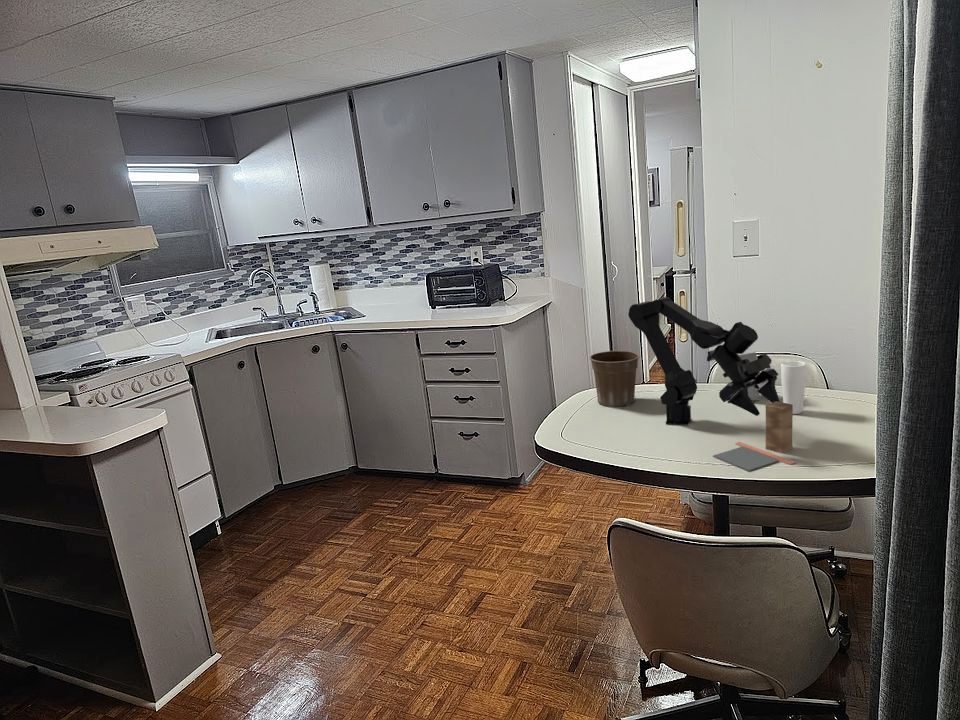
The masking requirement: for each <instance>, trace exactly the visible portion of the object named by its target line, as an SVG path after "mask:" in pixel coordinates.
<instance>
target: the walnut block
mask: <svg viewBox="0 0 960 720" xmlns="http://www.w3.org/2000/svg"><path fill="white" fill-rule="evenodd" d="M793 415H794V414H793V405H792V404H787V403H783V401H780V402H778V401H775V402H773V403H771V402H769V403H768V404H766V405H765V450H767V451H772V452H776V453H779V454H783V453H785V452H788V451H790V450H792V449H793V420H794V419H793Z"/></svg>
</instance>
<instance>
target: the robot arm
mask: <svg viewBox="0 0 960 720" xmlns="http://www.w3.org/2000/svg"><path fill="white" fill-rule="evenodd" d="M660 314H661V315H663V316H664V318H667V319H668V320H669V321H671V322H672V323H674V324H675V325H677V326H678V327H680V328H681V329H683V330H685V331H686V333H688V334H689V336H690V339H691V340H692V341H693V342H694V343H695V344H696V345H697V346H698V347H700V348H701V349H703V350H706V349H710V348H714V347H715V348H714V349H712V350H709V351H707V357H706V361H707V362H712V361H715V362H716V363H717V365H718V366H719V367H720V368H721V370H722V371H723V372H724V373H723V374H722V376H723V377H724V378H729V380H730V382H728V383H727V384H726V385H725V386H724V387H723V388H722V389H720V391H718V395H719V399H720V400H721V401H722V403H726V402H727V404H732V405H733V406H736V407H738V408H740V409H742V410H744V411H747V412H749V413H750V414H752V415H754V416H756V417H758V416H759V415H760V414H761V413H760V411H759V409H758V407H757V406H756V405H755V404H754V402H753V401H752V400H751V399H750V397H749V396H748V388H750V387H753V386H754V387H755V388H757V389H759V390H758V392H759V395H761V396H763V397H764V398H765V399H766V400H768V402H769V403H773V402H775V401H778V402H781V400H780V397H779V394H778V393H777V388H776V381H777V379H778V376H779V373H778V372H777V370H775V368H771V367H772V366H771V364H772V358H770V356H769V355H768V354H767V353H766V352H765V353H762V354H759V355H757V360H755V361H752V362H750V361H749V360H748V359H744V360H743V359H742V358H741V357H740V356H739V355H738V354H742V353H744V352H745V351H746V350H747V349H750V347H751V346H752V345H754V343H755V342H756V341H758V338H759V335H758V334H757V331H756V330H755V329H754V328H752V327H750V326H749V325H747V324H744V323H743V322H742V321H739V322H735V323H734V324H733V325H732V327H731V329H730V330H728V329H727V330H726V329H724V328H723V327H722V326H721V325H718V324H716V323H714V322H712V321H708V320H703V319H701V318H698V317H697V316H696V315H694V314H692V313H691V312H690V311H688V310H686V309H685V308H683V307H682V306H681V305H679V304H677V303H676V302H674V301H673V300H672V298H671V297H668V296H663V297H659V298H656V299H654V300H652V301H650V300H649V301H648V300H647V301H642V302H639V303H634V304H632V305H631V306H630V307H629V309H628V318H629V320H630V321H631V322H632V324H633V325H634V327H635V328H636V329H637V330H639V331H641V332H642V333H643V334H644V336H645V338H646V341H647V342H648V343H649V345H650V348H651V350H652V351H653V354H654V356H655V358H656V359H657V361H658V363H659V365H660V367H661V369H662V372H663V373H664V386H665V389H666V391H665V392H664V393H662V395H661V396H660V402H661V405H665V411H666V420H665V424H666V425H681V426H688V425H689V424H690V422H691V419H692V408H691V407H692V406H691V405H690V401H693V399H694V397H695V395H696V394H697V389H698V386H697V379H696V378H695V377H694V374H693V372H692V371H691V369H688V370H685V369H683V368H682V367H681V366H680V364H679V361H678V360H677V357H676V356H675V354H674V352H673V350H672V348H671V346H670V344H669V342H668V340H667V338H666V336H665V334H664V332H663V331H662V329H661V326H660ZM756 375H757V376H756ZM755 376H756V377H755ZM731 381H732V382H731Z"/></svg>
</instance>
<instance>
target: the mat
mask: <svg viewBox="0 0 960 720" xmlns="http://www.w3.org/2000/svg"><path fill="white" fill-rule="evenodd" d="M712 457H713V458H715V459H717V460H720V461H722V462H724V463H727V464H729V465H732V466H734V467H736V468H740V469H741V470H744V471H745V472H746V471H747V472H752V471H755V470H758V469H761V468H765V467H767V466H771V465H773V464H776V463H779V462H780V461H779V460H777V459H774V458H771V457H769V456H766V455H763V454H761V453H758V452H755V451H753V450H750V449H747V448H745V447H742V446H739V447H736V448H733V449H730V450H726V451H723V452H719V453H717V454H714V455H713V456H712Z"/></svg>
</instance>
